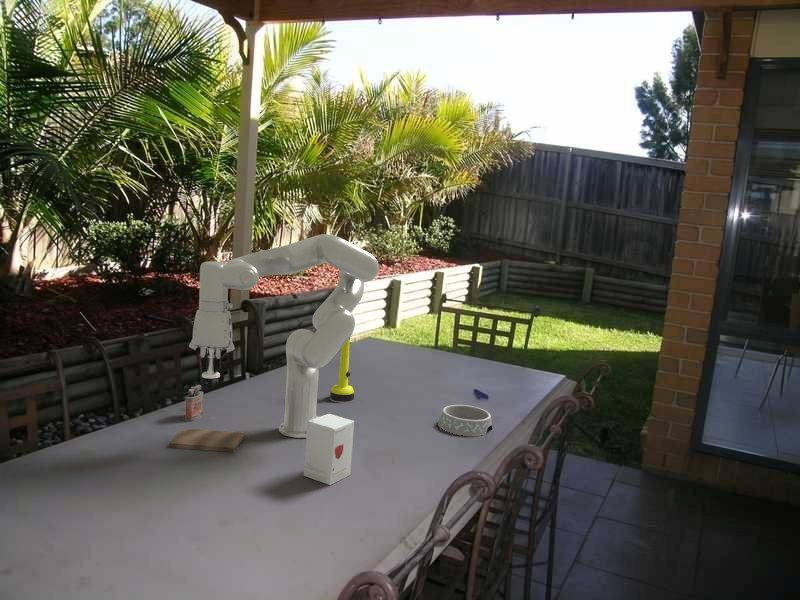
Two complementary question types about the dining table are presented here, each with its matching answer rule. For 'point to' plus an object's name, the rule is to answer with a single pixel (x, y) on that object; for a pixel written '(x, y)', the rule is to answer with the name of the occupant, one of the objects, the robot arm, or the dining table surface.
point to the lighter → (194, 404)
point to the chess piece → (211, 366)
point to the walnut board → (207, 440)
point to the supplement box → (328, 448)
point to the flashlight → (343, 379)
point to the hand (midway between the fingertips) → (211, 370)
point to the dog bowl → (465, 420)
